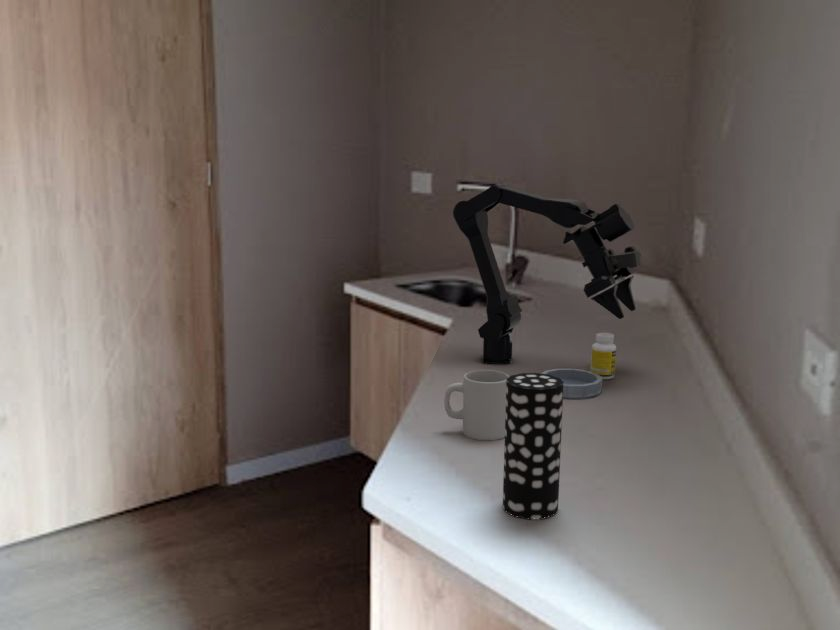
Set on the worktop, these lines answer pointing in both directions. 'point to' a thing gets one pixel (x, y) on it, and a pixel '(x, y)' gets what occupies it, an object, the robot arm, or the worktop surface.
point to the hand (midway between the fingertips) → (627, 314)
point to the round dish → (578, 383)
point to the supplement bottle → (604, 356)
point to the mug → (481, 404)
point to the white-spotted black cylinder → (532, 444)
